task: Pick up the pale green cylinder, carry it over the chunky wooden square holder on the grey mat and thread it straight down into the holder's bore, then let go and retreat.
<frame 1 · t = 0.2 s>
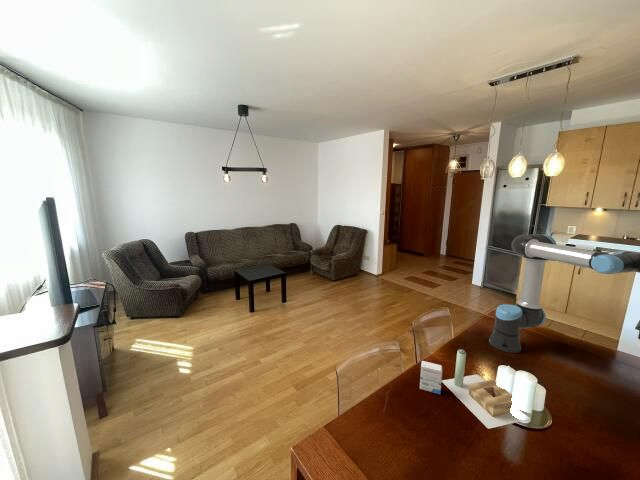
pale green cylinder: (458, 384, 119), point 1 cm above the table, touching grey mat
grey mat: (481, 399, 111), on the table
ink box: (429, 389, 117), on the table
wooden square holder: (491, 402, 108), resting on grey mat
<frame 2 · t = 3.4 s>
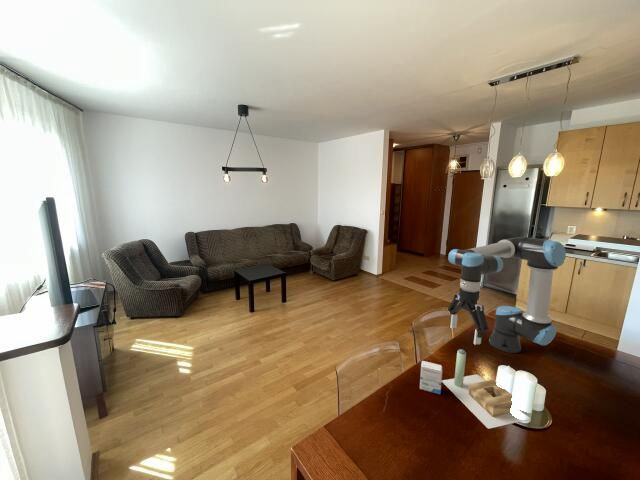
hand: (464, 335, 114), 25 cm above the table, fingers open, 13 cm apart
nothing on the table moved.
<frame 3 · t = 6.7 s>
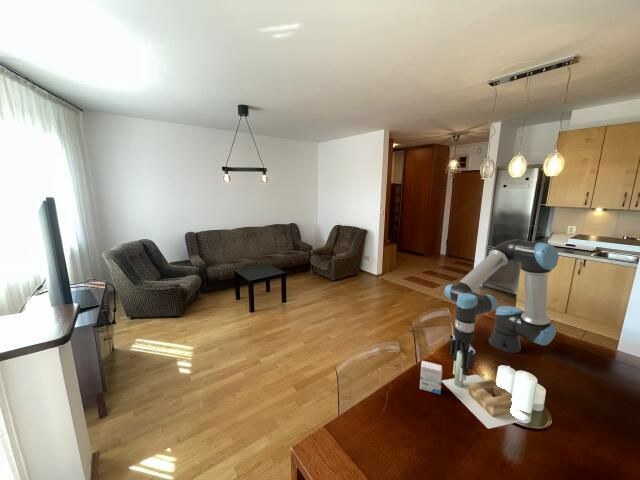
hand: (459, 376, 118), 5 cm above the table, fingers closed on pale green cylinder, 3 cm apart
pale green cylinder: (458, 384, 119), point 1 cm above the table, touching gripper
everything else where it was.
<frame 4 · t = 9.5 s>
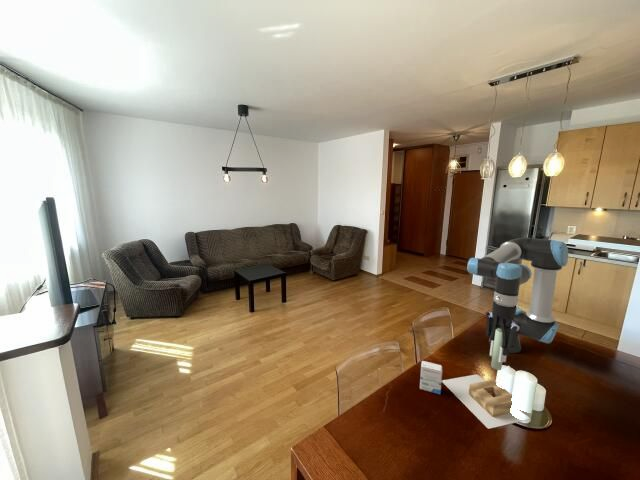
hand: (497, 358, 105), 21 cm above the table, fingers closed on pale green cylinder, 3 cm apart
pale green cylinder: (496, 367, 106), point 17 cm above the table, touching gripper
everything else where it was.
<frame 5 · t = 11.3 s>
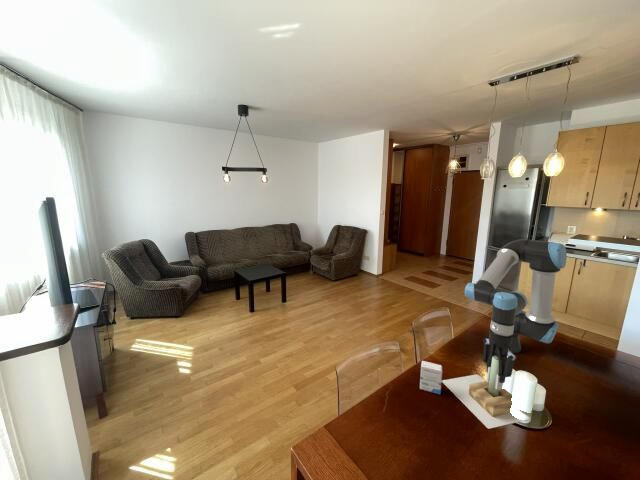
hand: (494, 384, 107), 9 cm above the table, fingers closed on pale green cylinder, 3 cm apart
pale green cylinder: (492, 393, 108), point 5 cm above the table, touching gripper
everything else where it was.
when the fingers open (7 cm above the table, at t = 12.6 s): pale green cylinder drops 2 cm, resting on grey mat.
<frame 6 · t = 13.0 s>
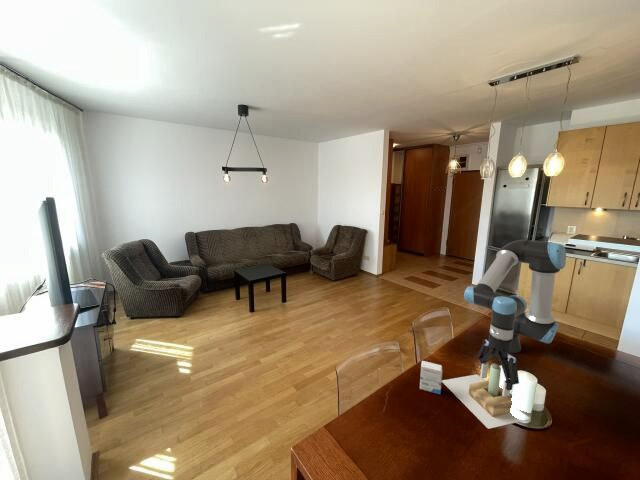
hand: (494, 386, 107), 8 cm above the table, fingers open, 10 cm apart
pale green cylinder: (491, 402, 108), point 1 cm above the table, touching grey mat
everything else where it was.
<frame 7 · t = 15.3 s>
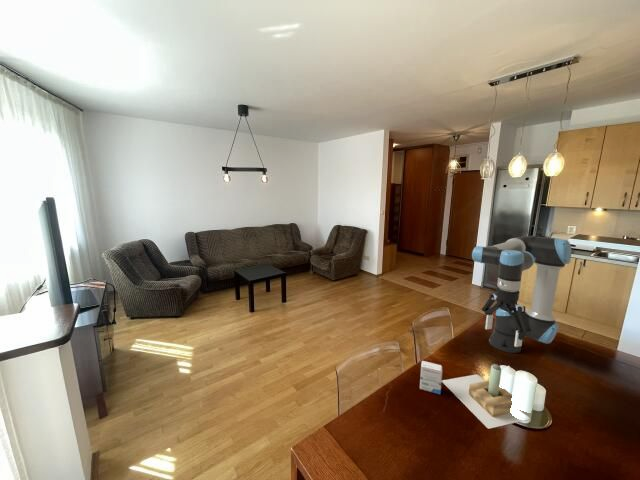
hand: (502, 336, 109), 27 cm above the table, fingers open, 13 cm apart
nothing on the table moved.
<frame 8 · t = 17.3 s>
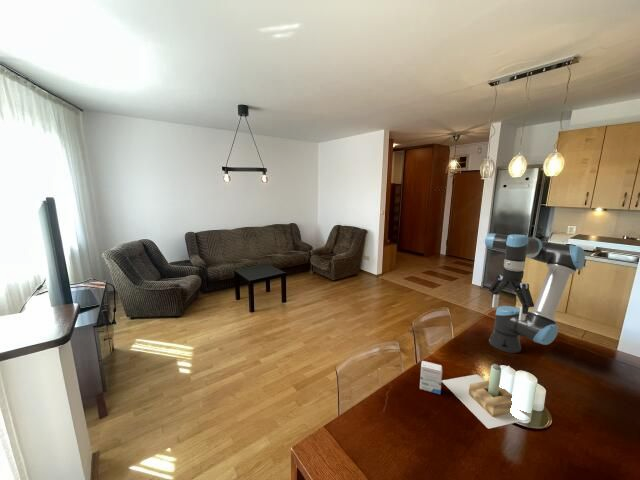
hand: (507, 313, 121), 32 cm above the table, fingers open, 13 cm apart
nothing on the table moved.
at the end: pale green cylinder 0.0 cm off-centre on the wooden square holder, point 0.0 cm above the wooden square holder's base; pale green cylinder tilted 0°; the gripper is holding nothing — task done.
